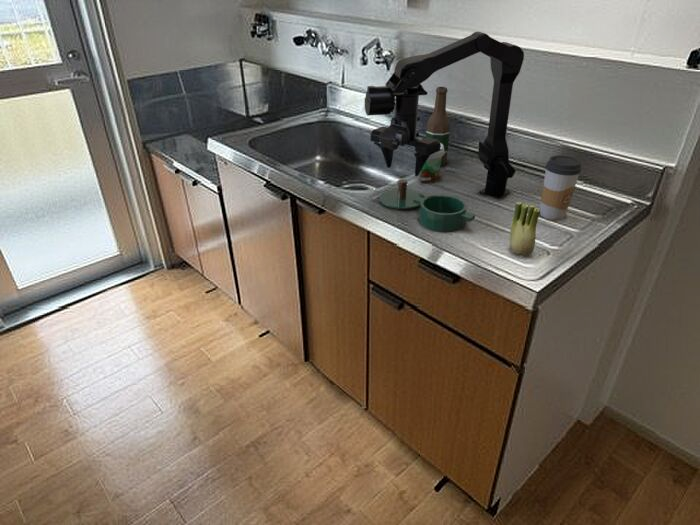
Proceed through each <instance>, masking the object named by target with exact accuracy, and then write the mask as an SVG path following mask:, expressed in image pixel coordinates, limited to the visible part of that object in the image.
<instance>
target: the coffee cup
mask: <svg viewBox="0 0 700 525" xmlns="http://www.w3.org/2000/svg"><path fill="white" fill-rule="evenodd" d="M581 164H582V162H581V160H580V159H578V158H577V157H574V156H570V155H560V154H559V155H552V156H550V157H549V159H548V160H547V162H546V164H545V173H544V179H543V184H542V189H541V196H540V205H539V210H540V214H539V215H540V216H541V217H543V218H545V219H547V220H552V221H559V220H562V219H564V217H566V214H567V212H568V209H569V207H570V204H571V201H572V197H573V194H574V192H575V189H576V185H577V181H578V179H579V176H580V174H581V172H582V165H581Z"/></svg>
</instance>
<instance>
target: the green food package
mask: <svg viewBox="0 0 700 525" xmlns="http://www.w3.org/2000/svg"><path fill="white" fill-rule="evenodd" d="M440 144H441V143H440ZM444 154H445V152H444V147H443V144H441V146H440V151H438V152H436V153H434V154H432V155H430V156H429V158H428V159H427V161H426V163H425V164H424V166H423V168H422V170H421V172H420V173H421V174H420V184H428V183H434V182H436V181H438V179H439V177H440V176H439V175H440V170H441V167H440V165H441V159H442V156H443V155H444Z"/></svg>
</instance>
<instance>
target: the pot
mask: <svg viewBox="0 0 700 525" xmlns="http://www.w3.org/2000/svg"><path fill="white" fill-rule="evenodd" d="M413 203H416V204H419V205H420V206H419V217H418V220H419V224H420V225H421V226H423V227H424V228H425V229H427V230H429V231H433V232H440V233H451V232H455V231H459V230H461V229H462V228H464V226H465V222H468V223H471V222H472V221H473V220H475V218H476V214H473V213H470V212H467V209H468V208H467V207H468V205H467V203H466V202H465V201H464V200H463V199H461V198H458V197H456V196H453V195H446V194H434V195H430V196H426V197H424V198H422V197H417V198H415V199H413Z"/></svg>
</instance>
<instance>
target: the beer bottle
mask: <svg viewBox="0 0 700 525" xmlns="http://www.w3.org/2000/svg"><path fill="white" fill-rule="evenodd" d="M448 92H449V91H448V88H447V87H446V86H438V87H436V88H435V93H436V94H435V95H436V96H435V100H434V108H433V111H432V114H431V116H429V118H428V121H427V123H426V129H425V130H426V132H425V138H426V137H429V138H433V139H437V140H439V142H440V143H441V144H443V147H444V152H445V154H444V155H443V156H442V159H441V165H440V168H441V167H444V166H446V165H447V160H448V151H449V150H448V149H449V140H450V133H451V132H450V129H451V123H450V120H449V117H448V115H447V93H448Z"/></svg>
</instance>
